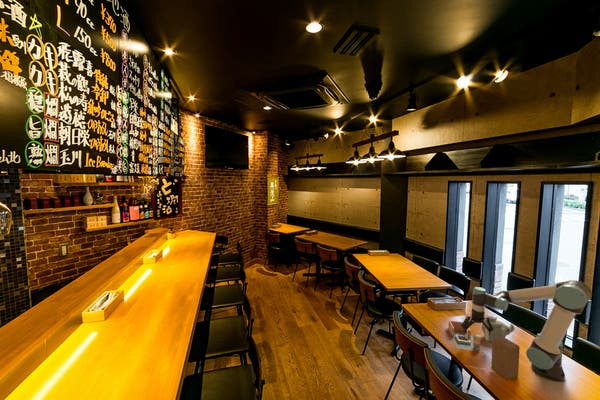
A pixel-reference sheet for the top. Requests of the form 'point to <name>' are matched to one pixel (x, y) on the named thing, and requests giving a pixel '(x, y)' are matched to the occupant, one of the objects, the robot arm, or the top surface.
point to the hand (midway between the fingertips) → (476, 338)
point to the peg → (476, 342)
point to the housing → (457, 328)
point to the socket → (462, 340)
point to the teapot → (497, 329)
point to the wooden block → (505, 357)
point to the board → (464, 346)
